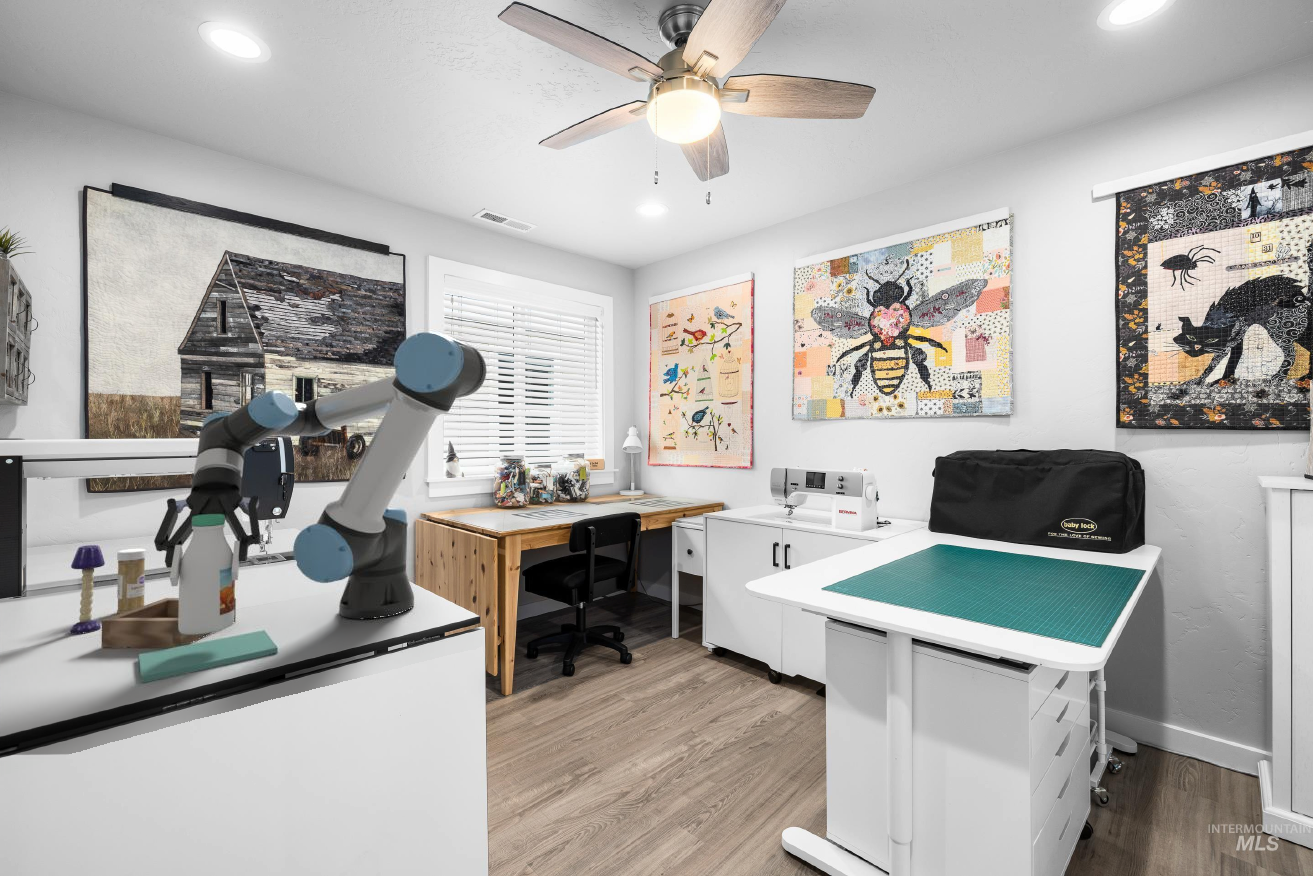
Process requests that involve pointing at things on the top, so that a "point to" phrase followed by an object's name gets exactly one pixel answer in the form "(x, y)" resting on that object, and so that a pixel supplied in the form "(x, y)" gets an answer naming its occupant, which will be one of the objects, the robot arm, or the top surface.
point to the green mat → (204, 655)
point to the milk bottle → (206, 579)
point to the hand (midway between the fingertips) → (204, 578)
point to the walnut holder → (148, 627)
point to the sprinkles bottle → (131, 579)
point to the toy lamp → (87, 585)
